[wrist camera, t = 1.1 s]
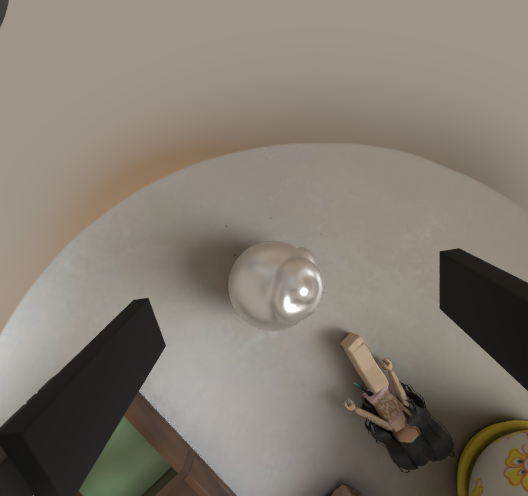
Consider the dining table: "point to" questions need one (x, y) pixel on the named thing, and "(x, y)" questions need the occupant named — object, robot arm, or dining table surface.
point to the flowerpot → (495, 461)
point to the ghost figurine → (275, 285)
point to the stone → (345, 491)
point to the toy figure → (396, 412)
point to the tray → (150, 461)
